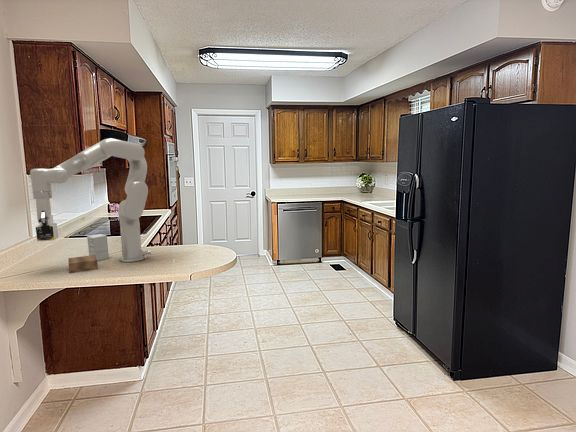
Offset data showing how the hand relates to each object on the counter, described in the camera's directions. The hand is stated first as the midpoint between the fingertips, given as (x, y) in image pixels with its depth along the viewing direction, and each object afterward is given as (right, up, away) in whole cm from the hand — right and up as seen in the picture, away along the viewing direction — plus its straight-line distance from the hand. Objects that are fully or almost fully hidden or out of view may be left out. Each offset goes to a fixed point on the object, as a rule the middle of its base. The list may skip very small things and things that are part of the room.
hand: (47, 232), depth 189 cm
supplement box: (+12, -15, +26) cm, 32 cm away
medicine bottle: (0, -4, +1) cm, 4 cm away
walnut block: (+13, -18, +8) cm, 24 cm away
